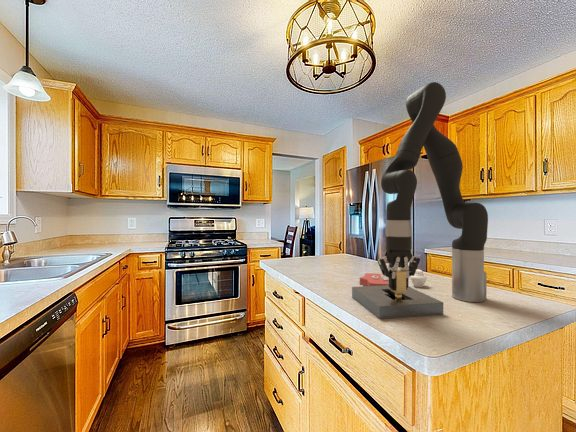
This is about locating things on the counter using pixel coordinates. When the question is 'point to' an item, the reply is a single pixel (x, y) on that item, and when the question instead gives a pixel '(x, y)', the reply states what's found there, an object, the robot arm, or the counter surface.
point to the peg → (400, 284)
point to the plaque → (374, 280)
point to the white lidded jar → (418, 278)
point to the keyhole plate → (396, 302)
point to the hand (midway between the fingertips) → (398, 289)
